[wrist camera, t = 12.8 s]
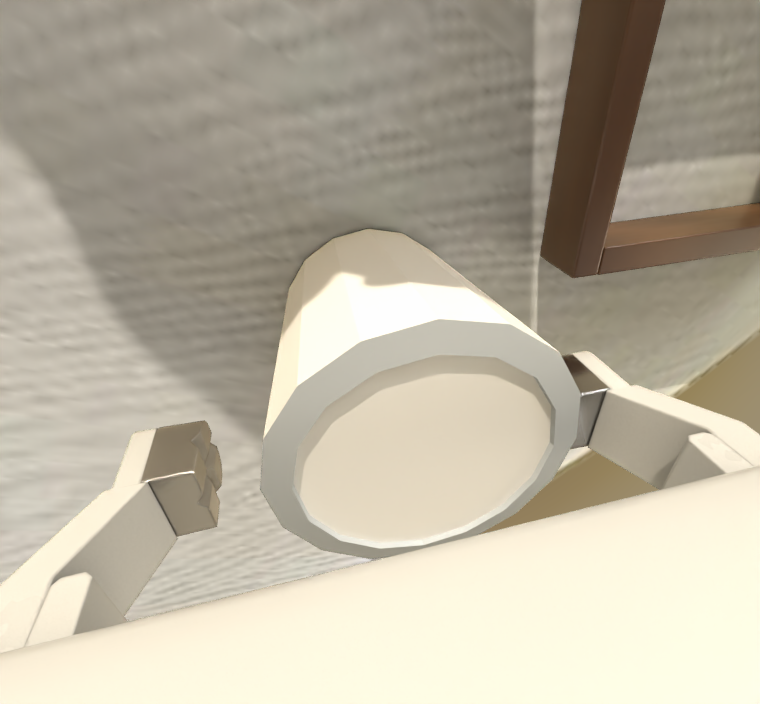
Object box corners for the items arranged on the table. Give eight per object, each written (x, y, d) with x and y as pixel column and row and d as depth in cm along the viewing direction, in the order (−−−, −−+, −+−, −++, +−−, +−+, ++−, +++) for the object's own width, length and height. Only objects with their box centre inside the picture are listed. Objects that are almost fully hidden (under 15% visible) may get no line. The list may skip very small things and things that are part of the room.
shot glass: (503, 296, 15) (637, 432, 10) (372, 416, 17) (419, 588, 11) (365, 155, 12) (448, 237, 6) (222, 326, 14) (183, 507, 8)
